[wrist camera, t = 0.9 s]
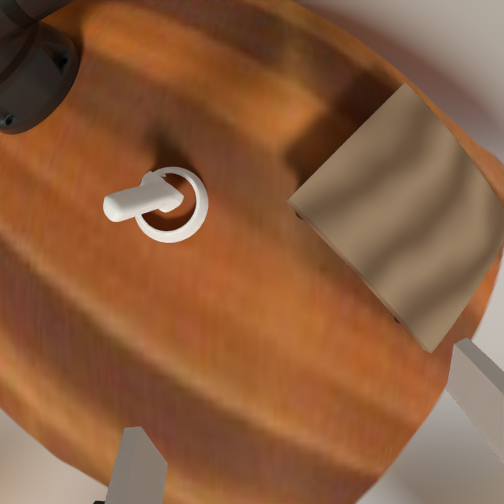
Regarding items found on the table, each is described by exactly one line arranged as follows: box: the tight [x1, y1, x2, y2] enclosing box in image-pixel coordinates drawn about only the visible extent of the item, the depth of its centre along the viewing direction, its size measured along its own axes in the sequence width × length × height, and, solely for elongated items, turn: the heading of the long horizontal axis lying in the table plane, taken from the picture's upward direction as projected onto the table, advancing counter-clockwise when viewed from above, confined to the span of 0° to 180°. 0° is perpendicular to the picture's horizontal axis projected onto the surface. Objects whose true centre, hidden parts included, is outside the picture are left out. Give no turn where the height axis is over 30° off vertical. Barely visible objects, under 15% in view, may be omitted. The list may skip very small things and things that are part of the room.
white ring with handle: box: [103, 167, 208, 243], centre depth 28 cm, size 8×12×7 cm
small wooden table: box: [286, 83, 504, 353], centre depth 29 cm, size 20×18×6 cm
